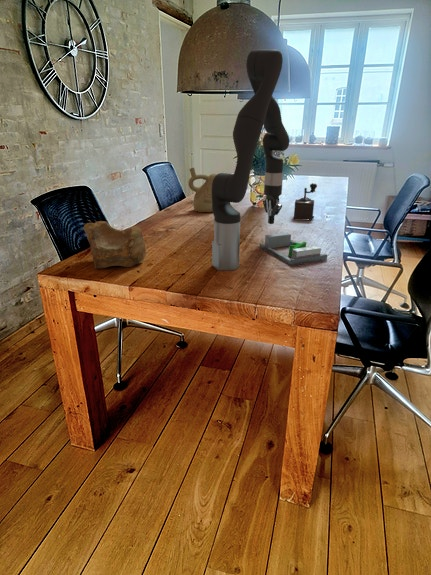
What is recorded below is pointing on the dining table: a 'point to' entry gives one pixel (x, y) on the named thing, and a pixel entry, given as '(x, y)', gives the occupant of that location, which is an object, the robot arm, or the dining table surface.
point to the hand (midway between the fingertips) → (270, 223)
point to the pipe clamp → (295, 246)
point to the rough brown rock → (115, 245)
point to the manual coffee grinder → (305, 205)
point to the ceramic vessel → (202, 192)
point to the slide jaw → (278, 240)
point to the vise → (299, 254)
